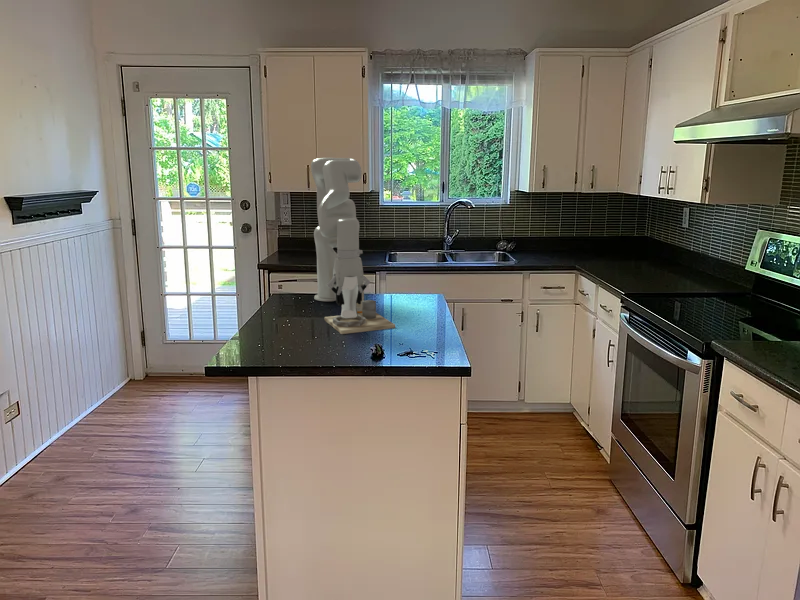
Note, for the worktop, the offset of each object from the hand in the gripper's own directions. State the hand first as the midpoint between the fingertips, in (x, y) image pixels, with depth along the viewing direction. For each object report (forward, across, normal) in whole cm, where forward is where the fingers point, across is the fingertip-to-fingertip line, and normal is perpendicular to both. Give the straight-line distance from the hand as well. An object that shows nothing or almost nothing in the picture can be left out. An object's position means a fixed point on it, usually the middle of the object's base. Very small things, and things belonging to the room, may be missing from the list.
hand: (349, 303), depth 209 cm
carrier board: (+8, -4, -1) cm, 9 cm away
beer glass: (+5, 0, 0) cm, 5 cm away
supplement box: (+8, -8, -19) cm, 22 cm away
